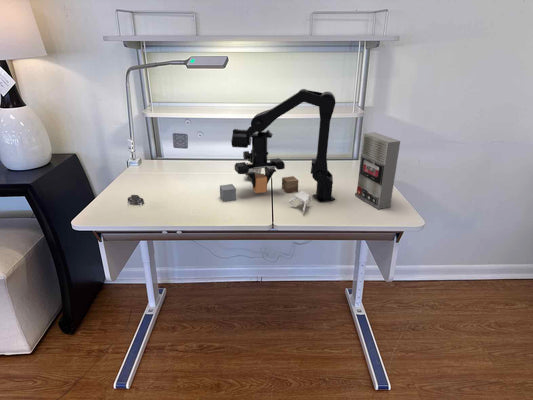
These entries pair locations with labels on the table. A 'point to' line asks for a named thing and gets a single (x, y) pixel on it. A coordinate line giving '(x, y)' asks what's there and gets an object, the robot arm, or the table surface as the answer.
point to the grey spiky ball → (255, 170)
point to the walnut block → (290, 184)
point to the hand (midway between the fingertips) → (259, 186)
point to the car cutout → (135, 200)
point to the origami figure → (303, 197)
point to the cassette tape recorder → (377, 169)
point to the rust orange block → (260, 183)
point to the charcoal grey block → (227, 193)
